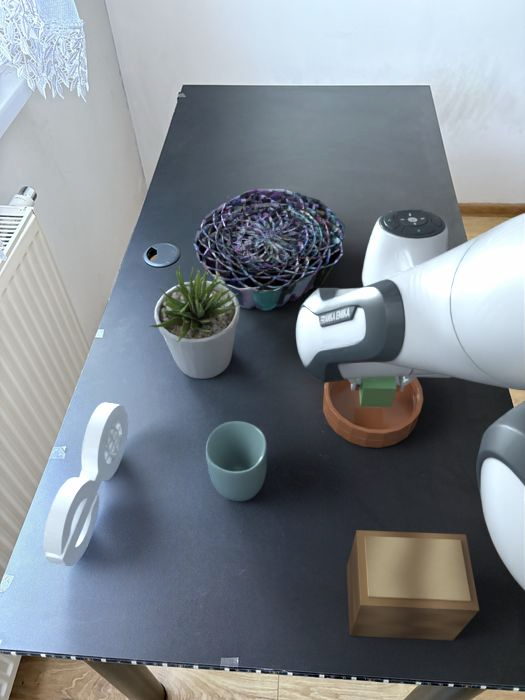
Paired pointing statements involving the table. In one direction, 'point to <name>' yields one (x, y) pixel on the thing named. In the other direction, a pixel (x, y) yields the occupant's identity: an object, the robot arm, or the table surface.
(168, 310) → the potted plant
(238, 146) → the table surface
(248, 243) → the decorative bowl
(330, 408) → the pan
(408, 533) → the box
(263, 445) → the cup
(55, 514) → the white lobed panel
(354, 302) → the robot arm
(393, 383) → the block
